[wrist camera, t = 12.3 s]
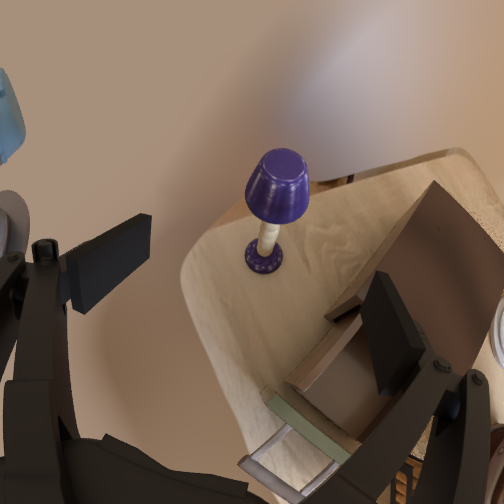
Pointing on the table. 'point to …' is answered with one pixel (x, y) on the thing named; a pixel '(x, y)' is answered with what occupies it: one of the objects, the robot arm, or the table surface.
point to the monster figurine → (498, 333)
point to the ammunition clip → (405, 481)
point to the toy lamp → (275, 204)
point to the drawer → (327, 401)
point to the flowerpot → (496, 466)
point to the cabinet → (438, 276)
